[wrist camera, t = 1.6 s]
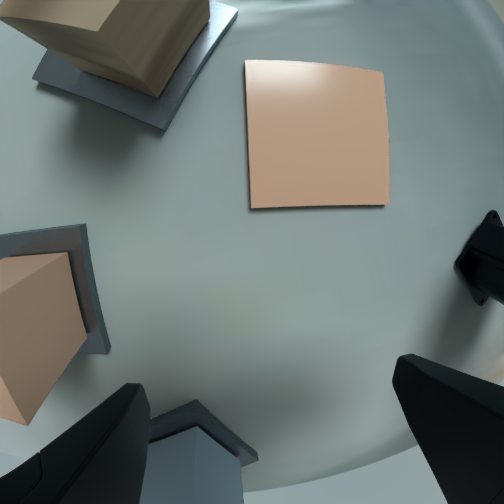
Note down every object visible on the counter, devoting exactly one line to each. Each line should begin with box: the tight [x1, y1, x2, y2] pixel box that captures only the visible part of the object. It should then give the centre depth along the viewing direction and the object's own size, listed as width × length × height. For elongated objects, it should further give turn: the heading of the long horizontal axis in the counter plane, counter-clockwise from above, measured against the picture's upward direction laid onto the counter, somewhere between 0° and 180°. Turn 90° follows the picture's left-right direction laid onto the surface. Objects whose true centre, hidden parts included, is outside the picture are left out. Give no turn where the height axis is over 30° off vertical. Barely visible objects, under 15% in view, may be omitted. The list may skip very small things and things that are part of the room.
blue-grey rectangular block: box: [139, 426, 244, 504], centre depth 17 cm, size 6×6×9 cm
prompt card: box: [244, 60, 390, 208], centre depth 17 cm, size 9×9×1 cm
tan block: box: [0, 252, 87, 426], centre depth 12 cm, size 6×6×9 cm
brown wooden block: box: [0, 0, 211, 98], centre depth 9 cm, size 6×6×9 cm
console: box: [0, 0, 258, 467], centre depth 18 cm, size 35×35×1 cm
